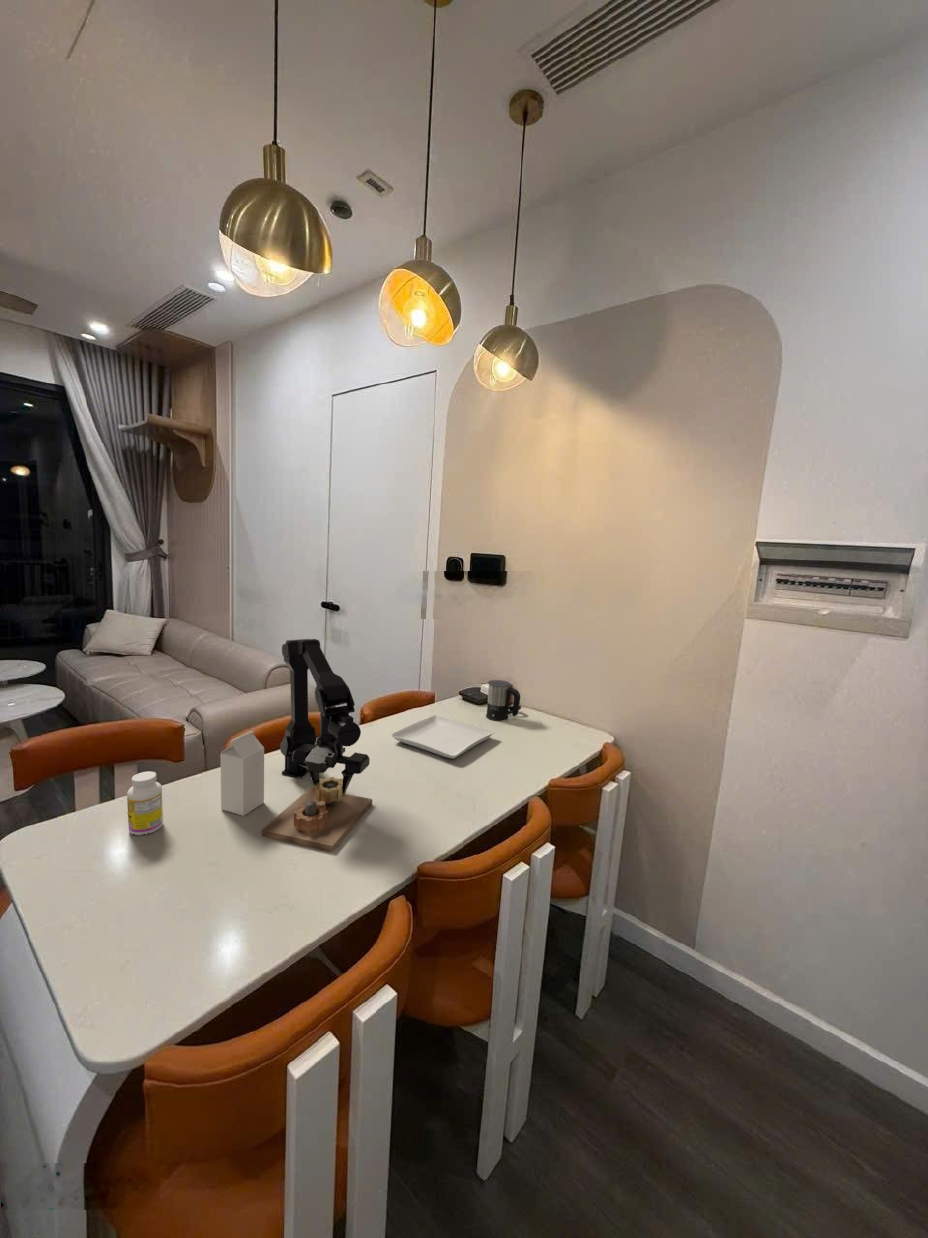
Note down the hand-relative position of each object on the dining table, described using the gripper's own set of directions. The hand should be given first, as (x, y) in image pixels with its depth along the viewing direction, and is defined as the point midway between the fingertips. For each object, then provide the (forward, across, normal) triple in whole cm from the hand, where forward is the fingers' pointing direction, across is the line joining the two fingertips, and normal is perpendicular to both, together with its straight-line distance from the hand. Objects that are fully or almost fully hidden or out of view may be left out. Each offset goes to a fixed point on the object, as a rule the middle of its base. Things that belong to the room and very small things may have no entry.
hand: (330, 789), depth 122 cm
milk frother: (+6, +31, +88) cm, 94 cm away
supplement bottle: (+6, -35, -21) cm, 41 cm away
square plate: (+6, +15, +53) cm, 55 cm away
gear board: (+6, 0, -4) cm, 7 cm away
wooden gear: (+2, 0, 0) cm, 2 cm away
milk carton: (+6, -21, -6) cm, 23 cm away
